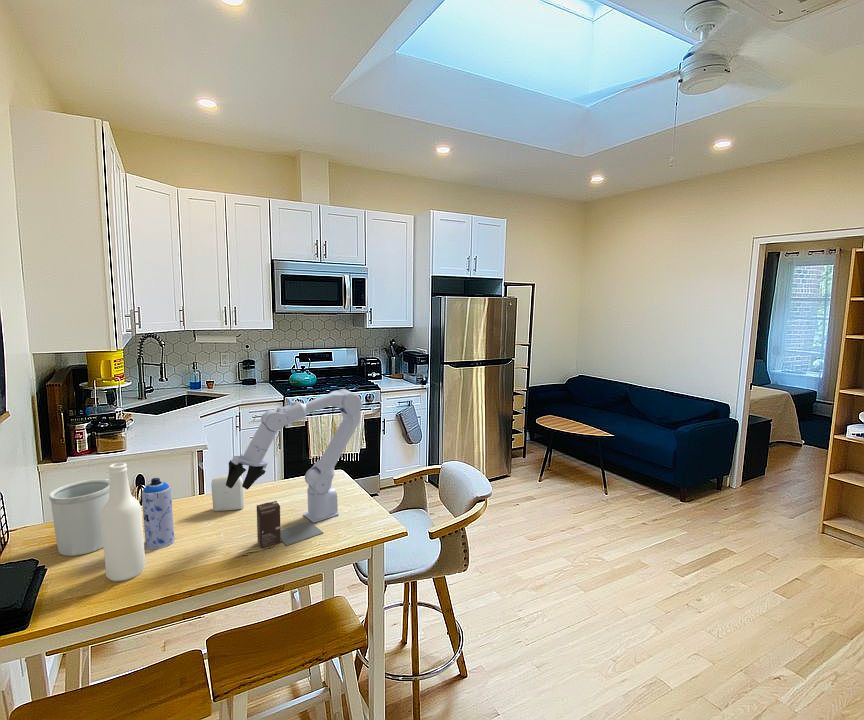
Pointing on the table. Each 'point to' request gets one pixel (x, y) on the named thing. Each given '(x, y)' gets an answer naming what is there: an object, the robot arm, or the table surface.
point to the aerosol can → (157, 515)
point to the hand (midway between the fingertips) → (236, 487)
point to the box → (268, 524)
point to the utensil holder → (79, 516)
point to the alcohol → (122, 528)
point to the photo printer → (227, 494)
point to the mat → (299, 533)
